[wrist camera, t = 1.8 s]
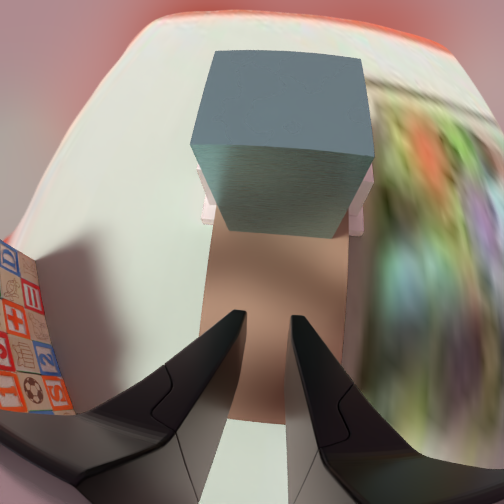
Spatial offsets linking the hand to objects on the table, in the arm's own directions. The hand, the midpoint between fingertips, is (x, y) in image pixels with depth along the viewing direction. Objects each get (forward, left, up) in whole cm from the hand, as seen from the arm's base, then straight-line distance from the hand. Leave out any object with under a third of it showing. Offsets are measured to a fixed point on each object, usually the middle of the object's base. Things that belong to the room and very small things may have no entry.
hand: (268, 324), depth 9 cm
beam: (+6, -6, -12) cm, 15 cm away
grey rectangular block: (+6, -6, -7) cm, 11 cm away
